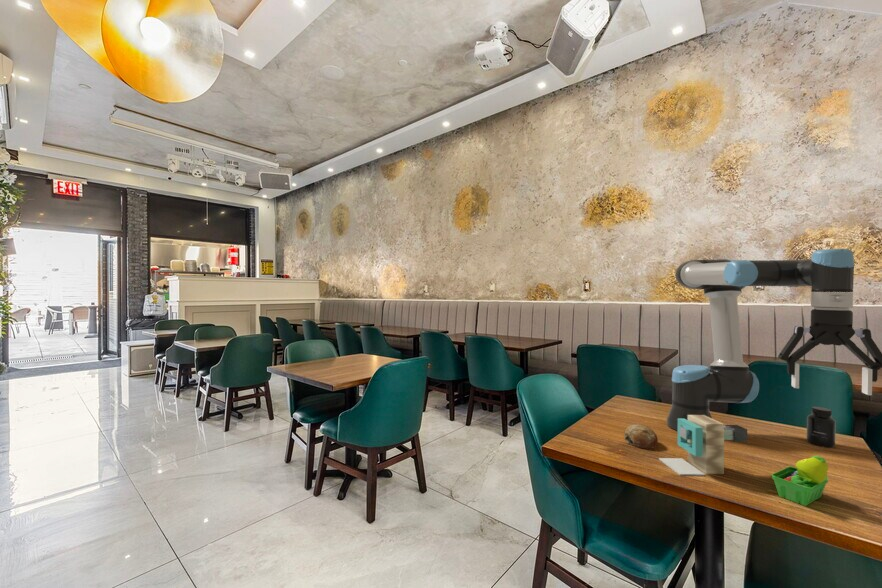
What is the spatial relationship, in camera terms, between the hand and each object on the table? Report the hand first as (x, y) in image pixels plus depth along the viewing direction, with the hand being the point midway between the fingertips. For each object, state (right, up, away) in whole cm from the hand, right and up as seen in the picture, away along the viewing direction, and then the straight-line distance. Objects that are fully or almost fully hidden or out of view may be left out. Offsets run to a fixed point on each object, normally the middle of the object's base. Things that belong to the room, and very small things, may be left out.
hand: (829, 390), depth 97 cm
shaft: (-22, -17, +12) cm, 30 cm away
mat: (-31, -25, +12) cm, 42 cm away
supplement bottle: (+28, -26, +30) cm, 48 cm away
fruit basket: (-11, -26, -4) cm, 28 cm away
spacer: (-29, -21, +12) cm, 37 cm away
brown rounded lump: (-33, -26, +30) cm, 51 cm away
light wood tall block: (-24, -25, +12) cm, 37 cm away
